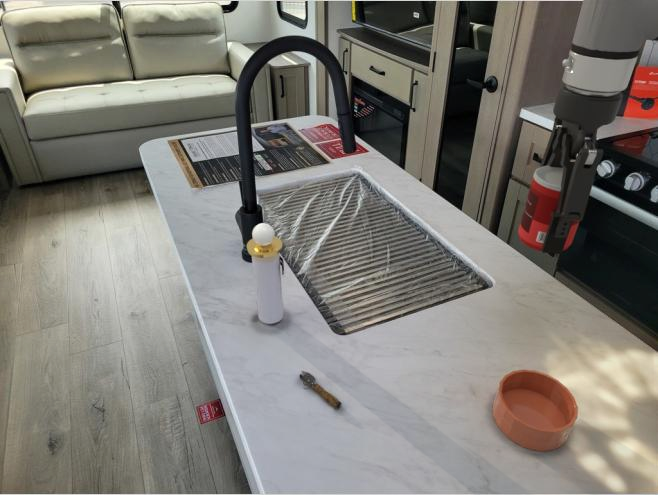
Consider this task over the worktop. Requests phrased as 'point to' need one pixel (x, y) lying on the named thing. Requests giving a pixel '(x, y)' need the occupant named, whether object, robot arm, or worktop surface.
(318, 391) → the can opener
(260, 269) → the perfume bottle
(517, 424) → the bowl
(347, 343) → the worktop surface
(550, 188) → the canned food
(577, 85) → the robot arm
